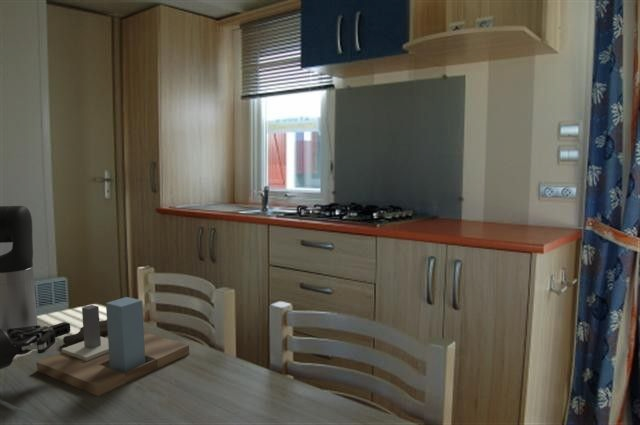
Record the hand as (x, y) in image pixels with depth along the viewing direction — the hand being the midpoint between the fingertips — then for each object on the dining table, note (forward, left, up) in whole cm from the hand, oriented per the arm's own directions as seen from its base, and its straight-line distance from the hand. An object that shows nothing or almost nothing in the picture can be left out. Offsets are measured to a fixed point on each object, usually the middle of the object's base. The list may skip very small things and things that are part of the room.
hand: (68, 326), depth 103 cm
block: (+12, +5, -9) cm, 16 cm away
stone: (-13, +15, -10) cm, 22 cm away
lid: (0, +5, -7) cm, 9 cm away
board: (+6, +7, -10) cm, 13 cm away
